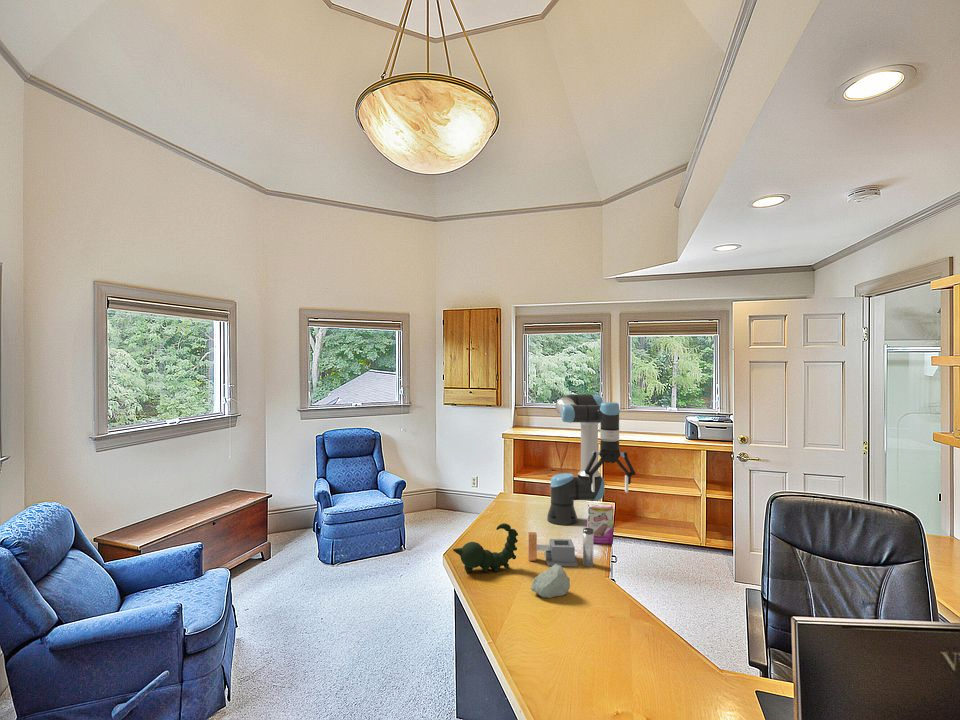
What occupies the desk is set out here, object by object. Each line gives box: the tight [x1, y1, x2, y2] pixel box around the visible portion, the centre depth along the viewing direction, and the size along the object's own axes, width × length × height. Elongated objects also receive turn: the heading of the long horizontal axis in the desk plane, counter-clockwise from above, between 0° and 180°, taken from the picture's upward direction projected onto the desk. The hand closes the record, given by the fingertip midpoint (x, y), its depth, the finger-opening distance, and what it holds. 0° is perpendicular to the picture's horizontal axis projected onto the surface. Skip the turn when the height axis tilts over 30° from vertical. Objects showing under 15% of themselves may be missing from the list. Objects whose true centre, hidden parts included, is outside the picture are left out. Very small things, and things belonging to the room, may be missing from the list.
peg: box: [582, 527, 594, 568], centre depth 195 cm, size 4×4×14 cm
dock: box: [543, 538, 579, 568], centre depth 199 cm, size 12×12×7 cm
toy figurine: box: [452, 522, 519, 573], centre depth 189 cm, size 9×19×25 cm
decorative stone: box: [530, 564, 571, 599], centre depth 170 cm, size 13×11×10 cm
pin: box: [527, 531, 568, 562], centre depth 199 cm, size 3×16×10 cm, turn 88°
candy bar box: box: [586, 503, 615, 545], centre depth 219 cm, size 11×5×16 cm, turn 84°
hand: (609, 491), depth 200 cm, fingers open, 13 cm apart
